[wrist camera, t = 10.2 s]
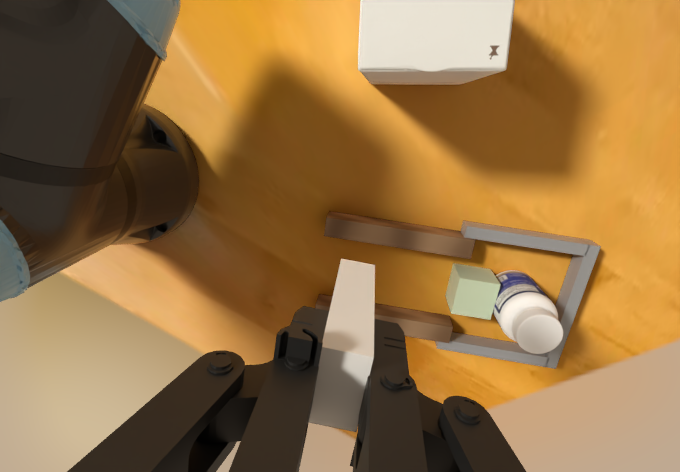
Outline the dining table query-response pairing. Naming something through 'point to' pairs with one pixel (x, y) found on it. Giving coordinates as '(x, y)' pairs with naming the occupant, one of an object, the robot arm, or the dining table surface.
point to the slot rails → (407, 238)
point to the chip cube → (472, 291)
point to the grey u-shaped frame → (566, 301)
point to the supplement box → (433, 40)
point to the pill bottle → (526, 313)
